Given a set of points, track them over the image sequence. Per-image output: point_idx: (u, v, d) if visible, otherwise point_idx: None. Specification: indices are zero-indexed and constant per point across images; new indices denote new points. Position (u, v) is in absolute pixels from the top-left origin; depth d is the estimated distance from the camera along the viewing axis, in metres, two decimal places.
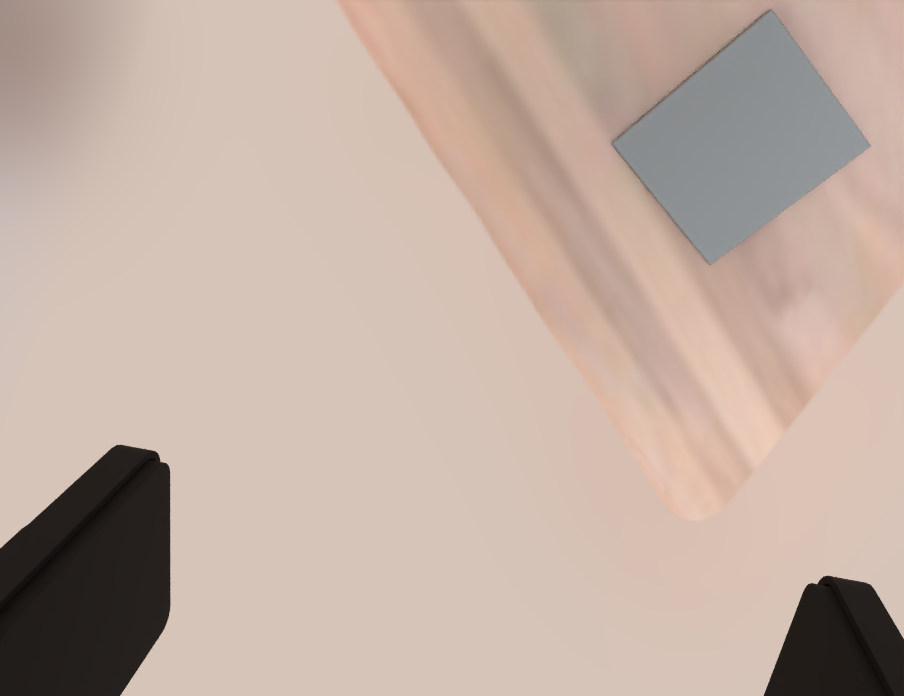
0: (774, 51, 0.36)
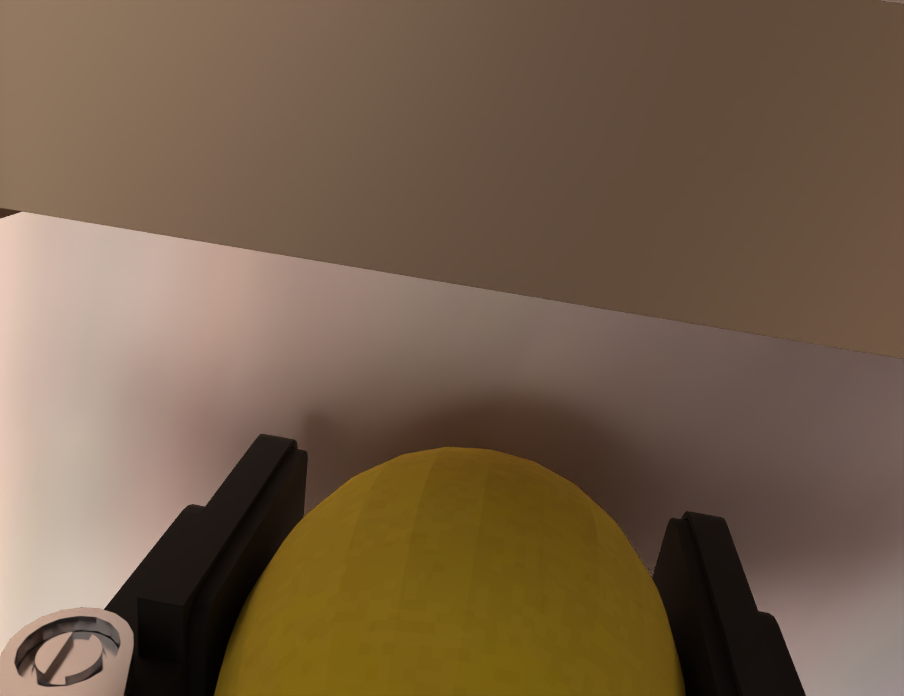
0: None
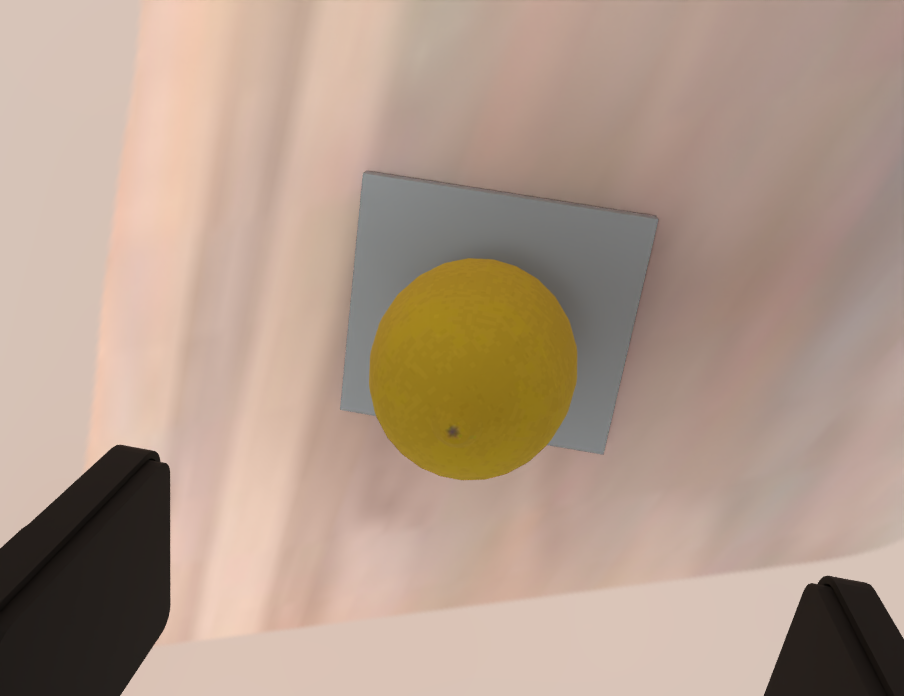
0: (617, 265, 0.24)
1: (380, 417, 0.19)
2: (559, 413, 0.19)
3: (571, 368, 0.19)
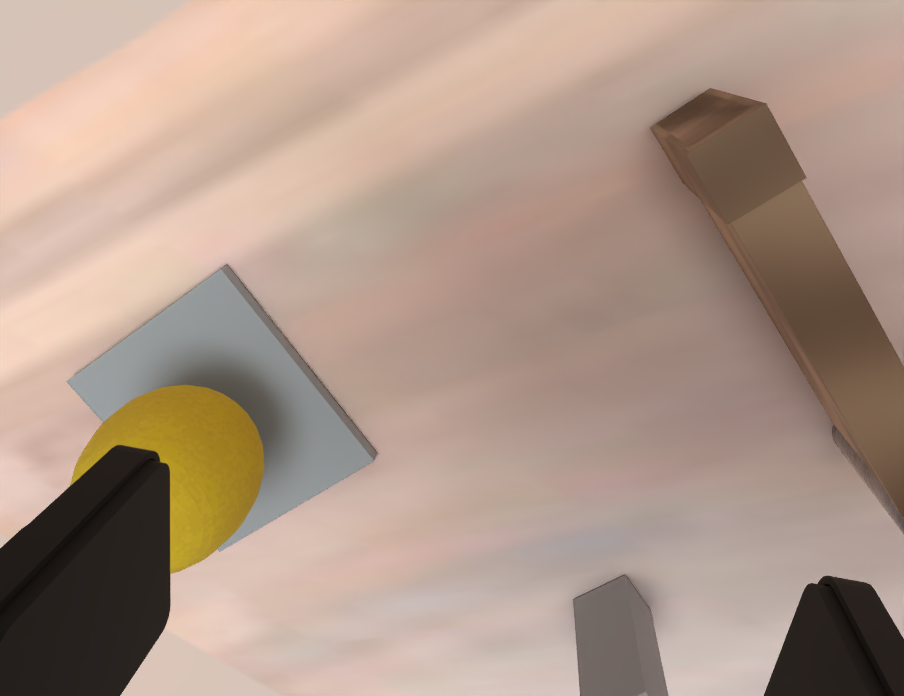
0: (327, 462, 0.30)
1: (74, 481, 0.23)
2: (192, 564, 0.24)
3: (226, 540, 0.25)
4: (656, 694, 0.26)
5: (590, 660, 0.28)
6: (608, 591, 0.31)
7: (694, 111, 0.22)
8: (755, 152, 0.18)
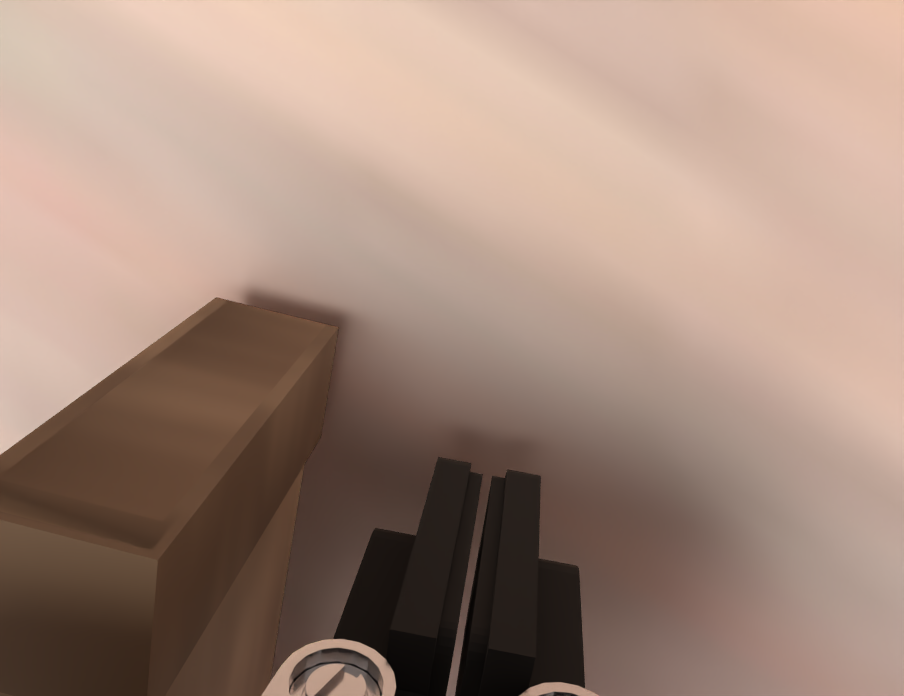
0: None
1: None
2: None
3: None
4: None
5: None
6: None
7: (241, 355, 0.11)
8: (85, 612, 0.07)
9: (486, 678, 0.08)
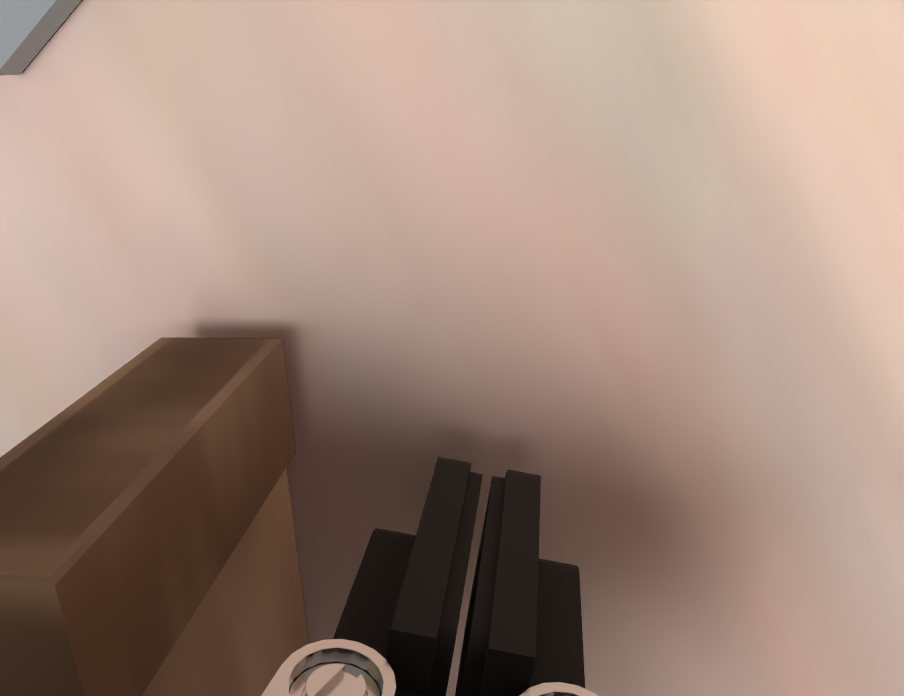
0: None
1: None
2: None
3: None
4: None
5: None
6: None
7: (176, 384, 0.11)
8: (13, 651, 0.07)
9: (486, 678, 0.08)
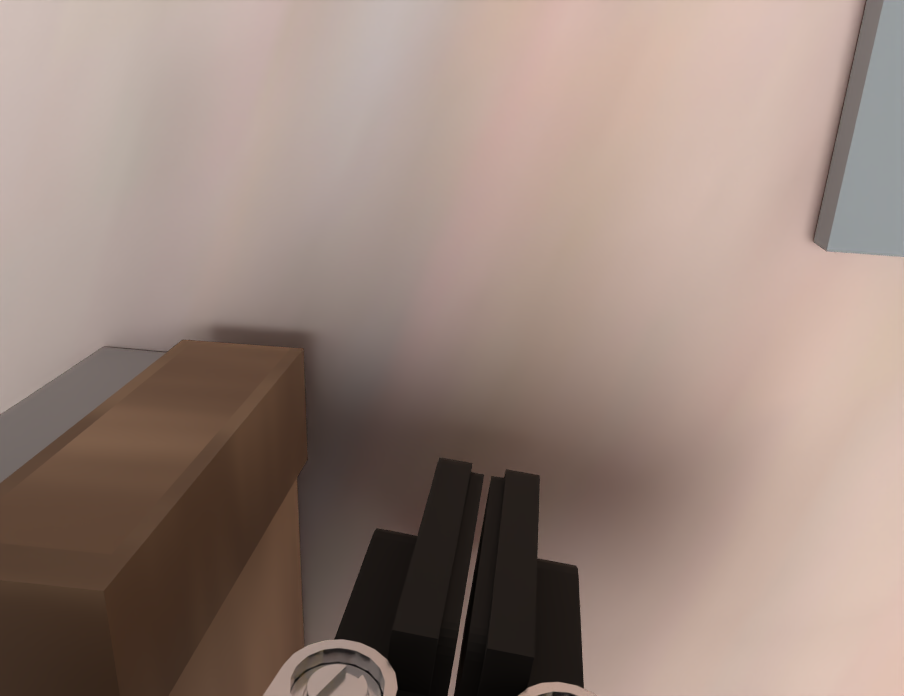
0: None
1: None
2: None
3: None
4: None
5: None
6: None
7: (203, 389, 0.11)
8: (51, 652, 0.07)
9: (485, 678, 0.08)
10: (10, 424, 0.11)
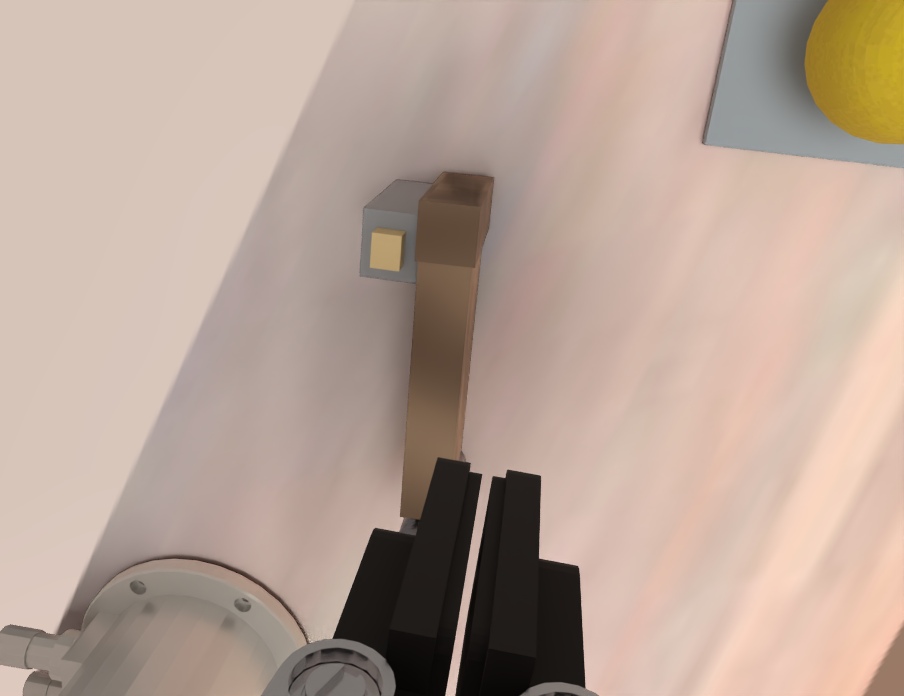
0: (739, 104, 0.29)
1: None
2: (853, 38, 0.22)
3: (828, 68, 0.23)
4: None
5: None
6: None
7: (466, 182, 0.29)
8: (457, 230, 0.25)
9: (486, 678, 0.08)
10: (390, 193, 0.29)
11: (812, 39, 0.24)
